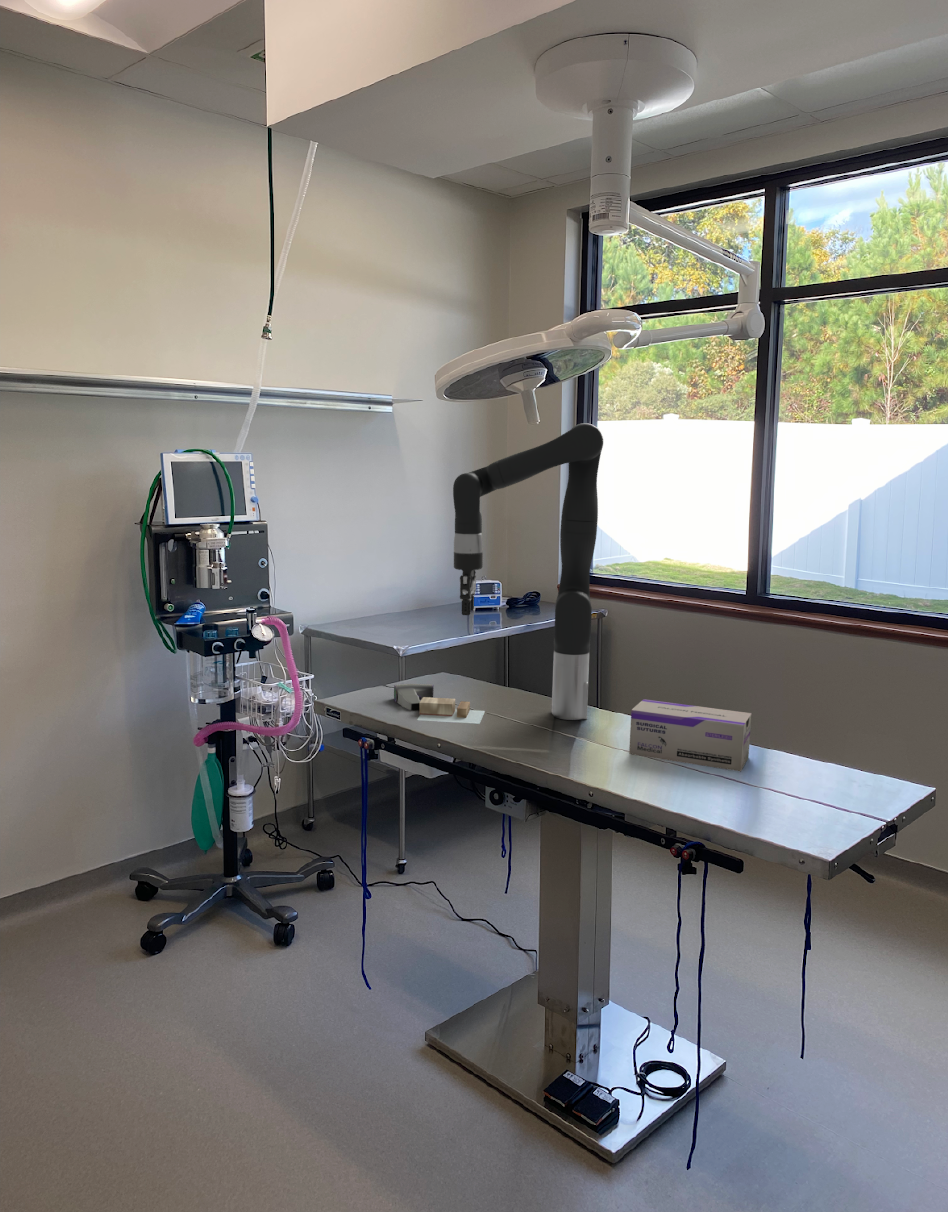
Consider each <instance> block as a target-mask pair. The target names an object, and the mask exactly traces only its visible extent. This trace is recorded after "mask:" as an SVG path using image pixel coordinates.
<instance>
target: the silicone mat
mask: <svg viewBox="0 0 948 1212" xmlns="http://www.w3.org/2000/svg"><path fill="white" fill-rule="evenodd" d="M485 713H486V712H485V710H475V709H474V710H473V709H470V711H469V713H468V715H467V717H466V718H458V717H457V708H455V712H454V714H453V716H436V715H419V716H418V718H417V719H416V721H421V722H435V723H436V722H439V723H455V724H456V723H457V724H474V725H480V724H481V721H482V719H483V717H484V714H485Z"/></svg>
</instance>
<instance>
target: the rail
mask: <svg viewBox="0 0 948 1212" xmlns="http://www.w3.org/2000/svg"><path fill="white" fill-rule="evenodd" d="M470 707H471V701H462V700H461V701H460V702H459V704H458V706H457V708H456V709H457V717H458V718H466V717H467V715H468V713H469V711H470V710H471V708H470Z"/></svg>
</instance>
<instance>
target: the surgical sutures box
mask: <svg viewBox="0 0 948 1212" xmlns="http://www.w3.org/2000/svg"><path fill="white" fill-rule="evenodd" d="M630 711H631V712H630V730H629V732H630V733H629V749H628V750H629V752H628V754H629V755H632V756H634V755H635V756H639V757H646V758H652V759H659V760H664V761H665V760H666V761H672V762H677V763H684V764H690V765H691V764H692V765H696V766H703V767H710V768H716V769H722V770H728V771H735V772H741V771H742V770H743V769H744V766H745V765H746V763H747V761H748V760H749V758H750V757H749V756H750V742H751V729H752V728H751V727H752V714H753V713H752V712H744V711H737V710H729V709H721V708H713V707H706V706H700V705H699V706H698V705H691V704H689V705H688V704H681V703H675V702H668V701H667V702H666V701H659V700H652V699H646V698H644V699H642V700H641V701H639V702H638V703H637V704H636V705H635V706H634V707H633V708H632V709H630Z"/></svg>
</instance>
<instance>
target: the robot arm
mask: <svg viewBox="0 0 948 1212" xmlns="http://www.w3.org/2000/svg"><path fill="white" fill-rule="evenodd" d="M603 447H604V436H603V434H602V432H601V431H600V429H599V428H598V427H597V426H595V425H594V424H591V423H588V422H583V423H578V424H577V425H575V426H573V427H572V428H570V430H567V431H566V432H565V433H563V434H561V435H560V436H558V437H556V438H554V439H552V440H550V441H548V442H546V443H543V444H540V445H539V446H535V447H532V448H529V449H527V450H523V451H520V452H518V453H514V454H512V455H509V456H507V457H503V458H502V459H499V460H496V461H494V462H491V463H489V465H487V466H484V467H481V468H478V469H475V470H472V471H469V472H466V473H461V474H459V475H458V476H457V477H456V478H455V480H454V482H453V487H452V496H453V506H454V507H453V508H454V513H455V514H454V537H453V568H454V569H455V570H458V571H460V570H461V571H462V575H460V577H459V584H460V585H459V599H460V601H461V615H462V616H470V615H471V611H473V610H474V609H475V595H476V590H477V589H476V588H477V575H476V574H477V571H479V570H482V569H483V567H484V566H483V564H484V562H483V559H484V558H483V557H484V553H483V552H484V550H483V547H484V545H483V534H482V533H483V532H482V531H483V520H482V519H483V518H482V513H481V502H480V501H481V497H483V496H486V495H487V494H490V493H492V492H494V491H497V490H501V489H504V488H508V487H510V486H512V485H516V484H518V483H521V482H523V481H525V480H528V479H530V478H532V477H535V476H536V475H539V474H540V473H543V472H545V471H547V470H550V469H552V468H555V467H557V466H561V465H565V464H568V476H567V477H568V479H567V483H566V484H567V485H566V490H565V494H564V498H563V504H562V510H561V519H560V520H561V521H560V533H559V534H560V535H559V537H560V560H561V562H560V563H561V570H560V572H561V574H560V581H559V587H558V593H557V598H556V600H555V605H554V606H555V607H554V610H555V611H554V632H553V633H554V635H553V663H552V689H551V691H552V692H551V714H552V716H553V717H554V718H556V719H561V720H565V721H567V720H568V721H578V720H588V698H589V672H590V671H589V670H590V651H591V650H590V649H591V636H592V635H591V632H592V611H593V610H592V602H591V597H590V596H591V595H590V590H591V589H590V573H591V572H590V571H591V567H592V561H593V556H594V553H595V547H596V542H597V541H596V540H597V535H598V521H599V519H598V518H599V517H598V516H599V515H598V514H599V508H598V507H599V506H598V505H599V504H598V503H599V502H598V499H599V498H598V486H597V485H598V473H599V465H600V460H601V454H602V451H603Z"/></svg>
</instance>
